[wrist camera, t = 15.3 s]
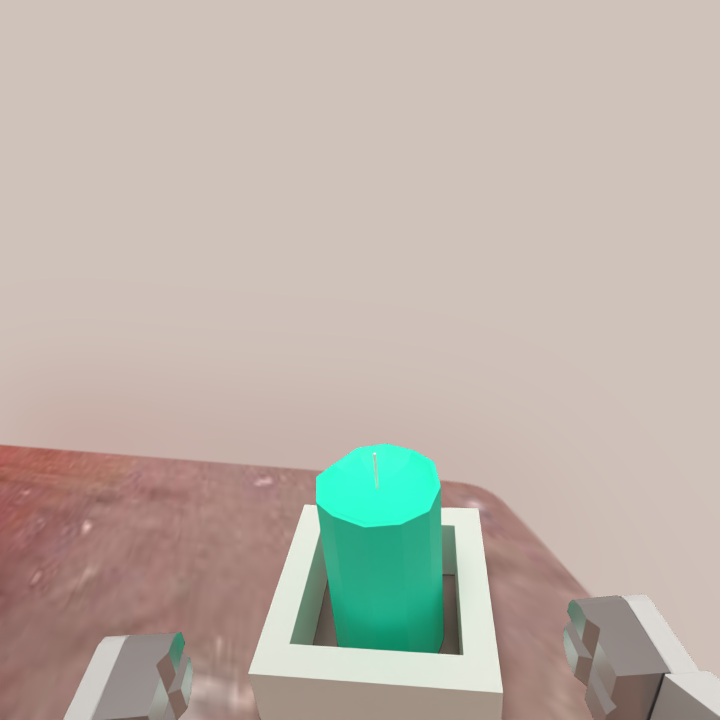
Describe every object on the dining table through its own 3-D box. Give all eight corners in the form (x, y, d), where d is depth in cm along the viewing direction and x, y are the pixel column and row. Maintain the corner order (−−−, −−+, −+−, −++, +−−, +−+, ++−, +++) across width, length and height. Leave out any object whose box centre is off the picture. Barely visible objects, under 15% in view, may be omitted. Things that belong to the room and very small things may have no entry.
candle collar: (262, 727, 23) (248, 673, 22) (312, 551, 33) (304, 504, 32) (499, 749, 22) (503, 692, 20) (477, 556, 32) (478, 508, 30)
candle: (416, 574, 31) (408, 409, 26) (463, 660, 25) (464, 474, 21) (325, 605, 29) (298, 436, 24) (354, 703, 24) (328, 513, 19)
